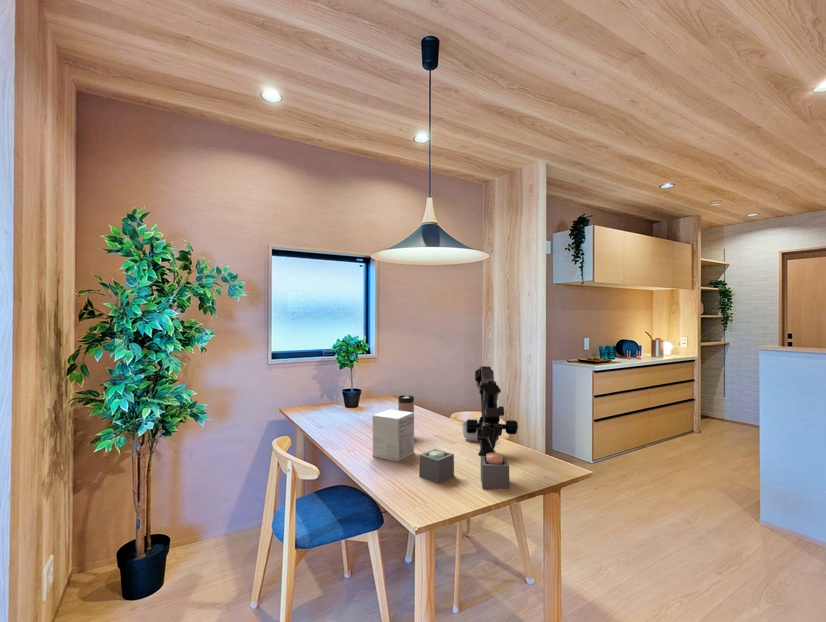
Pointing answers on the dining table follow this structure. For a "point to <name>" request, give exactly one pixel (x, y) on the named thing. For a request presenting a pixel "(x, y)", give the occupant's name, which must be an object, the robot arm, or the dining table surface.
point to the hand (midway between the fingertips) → (493, 447)
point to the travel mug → (406, 403)
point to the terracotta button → (494, 458)
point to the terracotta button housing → (494, 474)
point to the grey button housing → (436, 467)
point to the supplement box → (393, 434)
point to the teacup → (469, 435)
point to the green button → (436, 454)
